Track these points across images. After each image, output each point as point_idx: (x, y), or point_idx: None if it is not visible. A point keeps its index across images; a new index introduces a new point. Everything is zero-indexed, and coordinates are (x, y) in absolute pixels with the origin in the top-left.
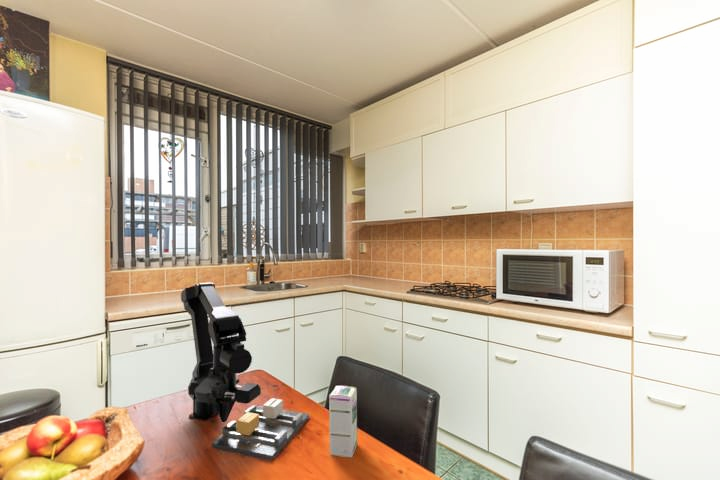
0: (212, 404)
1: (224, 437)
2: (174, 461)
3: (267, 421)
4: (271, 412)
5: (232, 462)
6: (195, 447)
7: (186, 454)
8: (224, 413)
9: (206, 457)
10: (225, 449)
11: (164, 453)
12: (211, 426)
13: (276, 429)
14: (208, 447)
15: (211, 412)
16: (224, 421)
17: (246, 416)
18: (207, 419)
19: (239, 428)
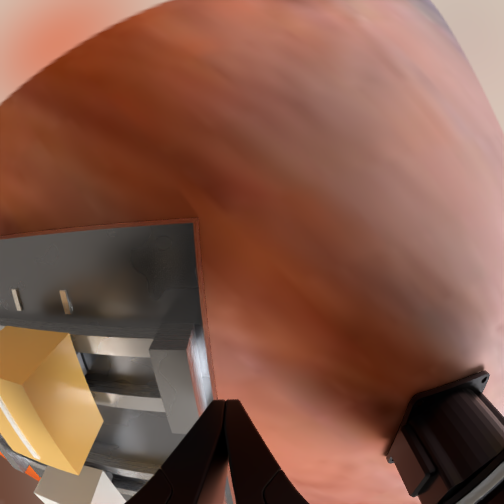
0: (423, 464)
1: (159, 306)
2: (315, 41)
3: (94, 453)
4: (56, 478)
5: (15, 165)
6: (309, 185)
7: (305, 108)
8: (181, 456)
9: (154, 128)
10: (93, 226)
11: (424, 94)
12: (363, 380)
13: None
14: (223, 214)
15: (411, 434)
16: (209, 405)
17: (28, 432)
18: (411, 401)
19: (33, 349)
